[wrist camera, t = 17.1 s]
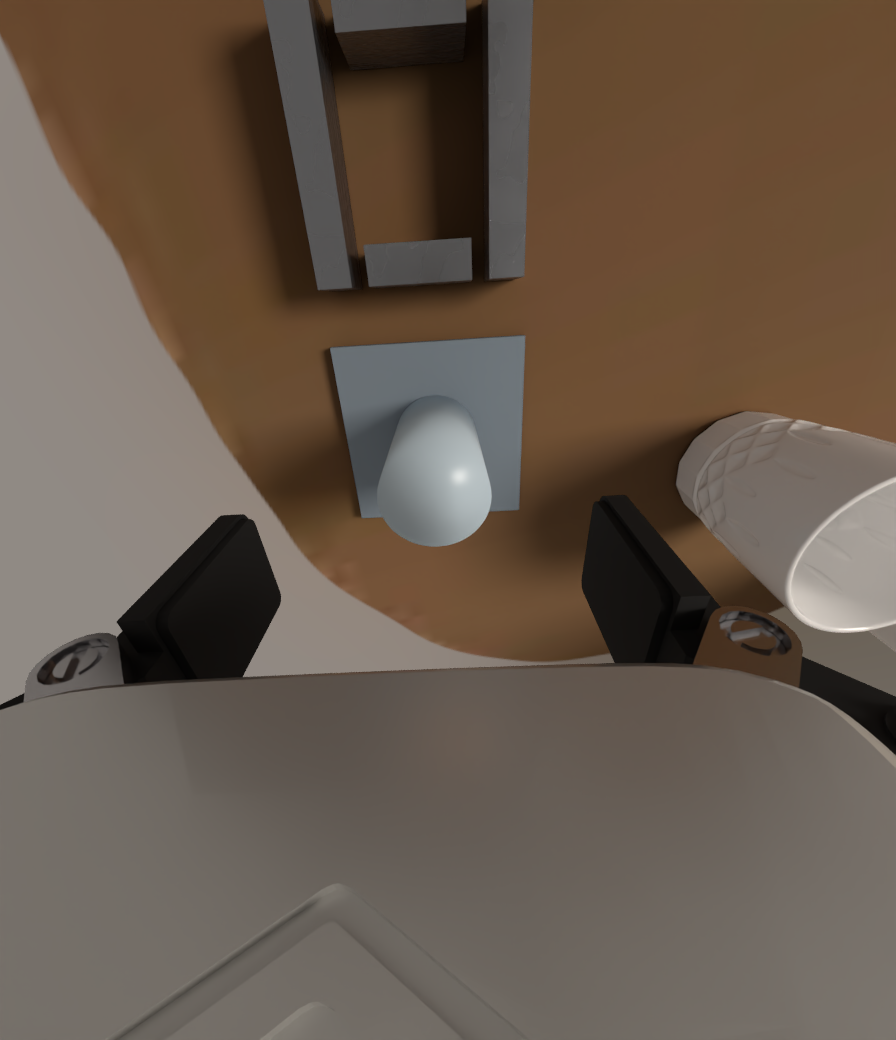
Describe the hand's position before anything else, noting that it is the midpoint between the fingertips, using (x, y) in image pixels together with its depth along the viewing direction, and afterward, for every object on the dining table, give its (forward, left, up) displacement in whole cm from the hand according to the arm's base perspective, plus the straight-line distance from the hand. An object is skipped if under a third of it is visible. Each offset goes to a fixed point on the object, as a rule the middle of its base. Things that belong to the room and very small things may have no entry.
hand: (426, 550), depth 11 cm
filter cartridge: (+1, 0, -13) cm, 13 cm away
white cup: (+4, +18, -14) cm, 23 cm away
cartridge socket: (-11, 0, -13) cm, 17 cm away
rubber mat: (+1, 0, -13) cm, 13 cm away
